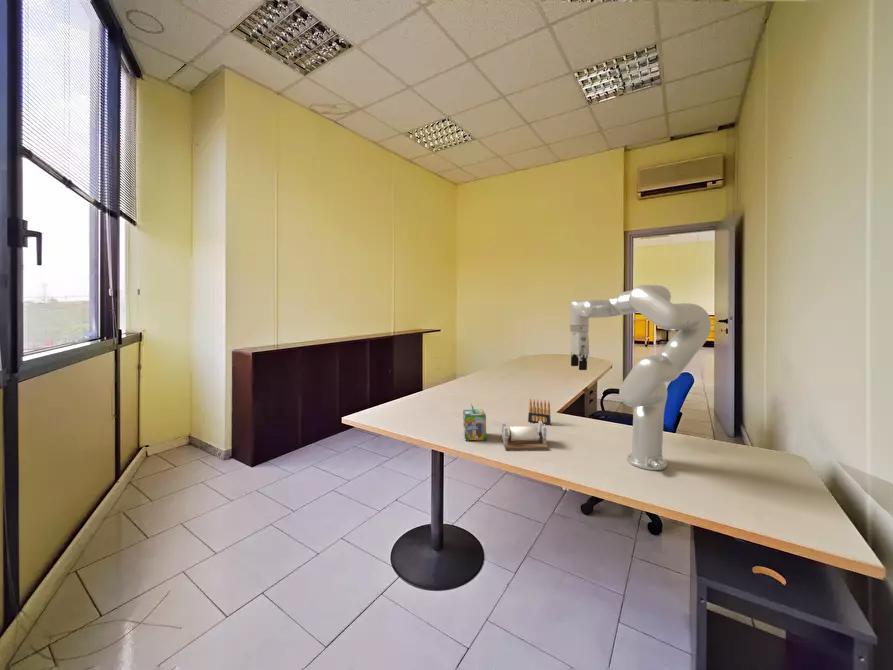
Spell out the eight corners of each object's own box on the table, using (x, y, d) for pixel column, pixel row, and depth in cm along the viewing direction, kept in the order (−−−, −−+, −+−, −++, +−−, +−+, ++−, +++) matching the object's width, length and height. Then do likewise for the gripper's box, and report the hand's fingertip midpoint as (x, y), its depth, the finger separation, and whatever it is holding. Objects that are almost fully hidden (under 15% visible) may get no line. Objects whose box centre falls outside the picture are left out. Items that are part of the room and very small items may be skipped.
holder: (548, 450, 140) (548, 430, 139) (505, 450, 140) (505, 430, 140) (539, 437, 154) (539, 419, 153) (500, 437, 154) (500, 419, 154)
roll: (538, 443, 144) (538, 428, 144) (511, 443, 144) (511, 429, 144) (535, 438, 150) (535, 424, 150) (508, 438, 150) (508, 424, 150)
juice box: (486, 440, 151) (486, 407, 150) (465, 441, 151) (465, 408, 149) (483, 433, 160) (482, 401, 159) (463, 433, 160) (462, 402, 159)
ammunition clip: (527, 422, 174) (528, 398, 173) (528, 421, 175) (529, 397, 174) (549, 425, 169) (550, 401, 168) (550, 424, 170) (550, 400, 169)
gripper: (596, 330, 143) (595, 371, 145) (580, 327, 161) (579, 364, 162) (577, 330, 143) (577, 371, 145) (564, 327, 161) (563, 364, 162)
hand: (578, 367), depth 153 cm, fingers open, 9 cm apart
